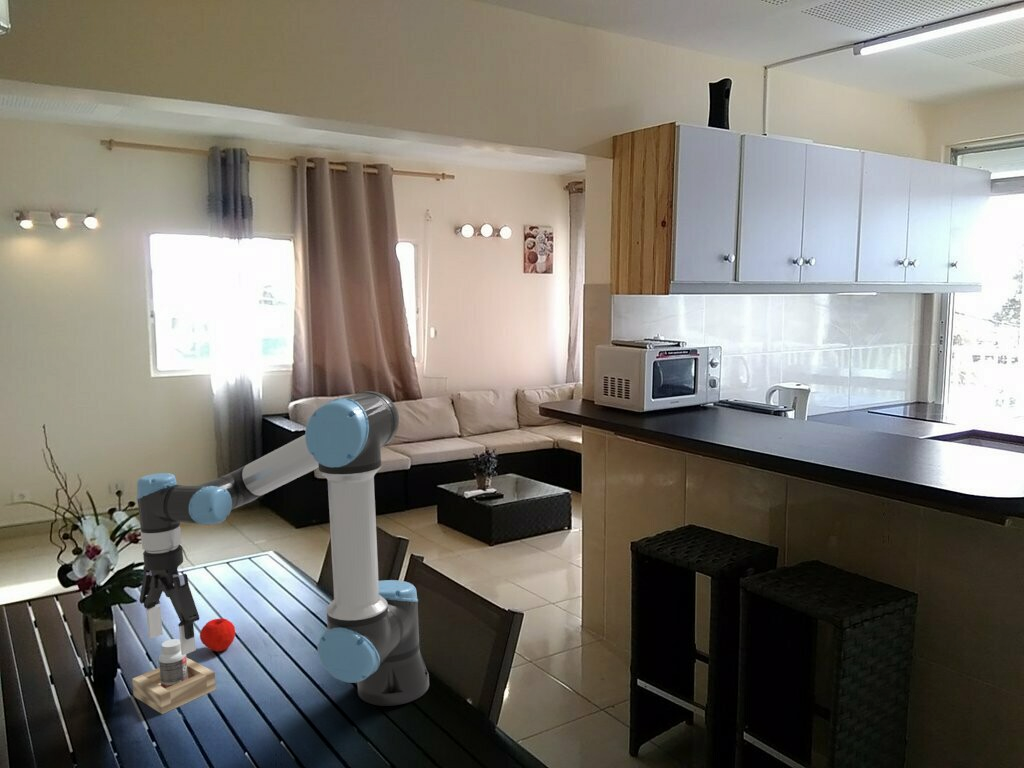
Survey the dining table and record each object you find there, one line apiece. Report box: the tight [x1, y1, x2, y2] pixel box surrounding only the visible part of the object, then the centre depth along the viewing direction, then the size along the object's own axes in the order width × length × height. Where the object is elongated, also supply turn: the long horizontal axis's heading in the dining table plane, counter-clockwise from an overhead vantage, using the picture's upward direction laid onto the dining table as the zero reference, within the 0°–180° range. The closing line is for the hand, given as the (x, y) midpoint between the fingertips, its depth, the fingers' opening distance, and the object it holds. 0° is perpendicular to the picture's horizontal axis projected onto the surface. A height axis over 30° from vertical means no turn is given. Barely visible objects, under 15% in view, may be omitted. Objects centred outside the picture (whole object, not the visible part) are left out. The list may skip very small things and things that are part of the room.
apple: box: [199, 617, 236, 652], centre depth 187 cm, size 8×8×7 cm
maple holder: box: [131, 656, 217, 715], centre depth 167 cm, size 12×12×4 cm
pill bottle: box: [158, 638, 188, 688], centre depth 167 cm, size 5×5×10 cm
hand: (171, 644), depth 166 cm, fingers open, 13 cm apart
